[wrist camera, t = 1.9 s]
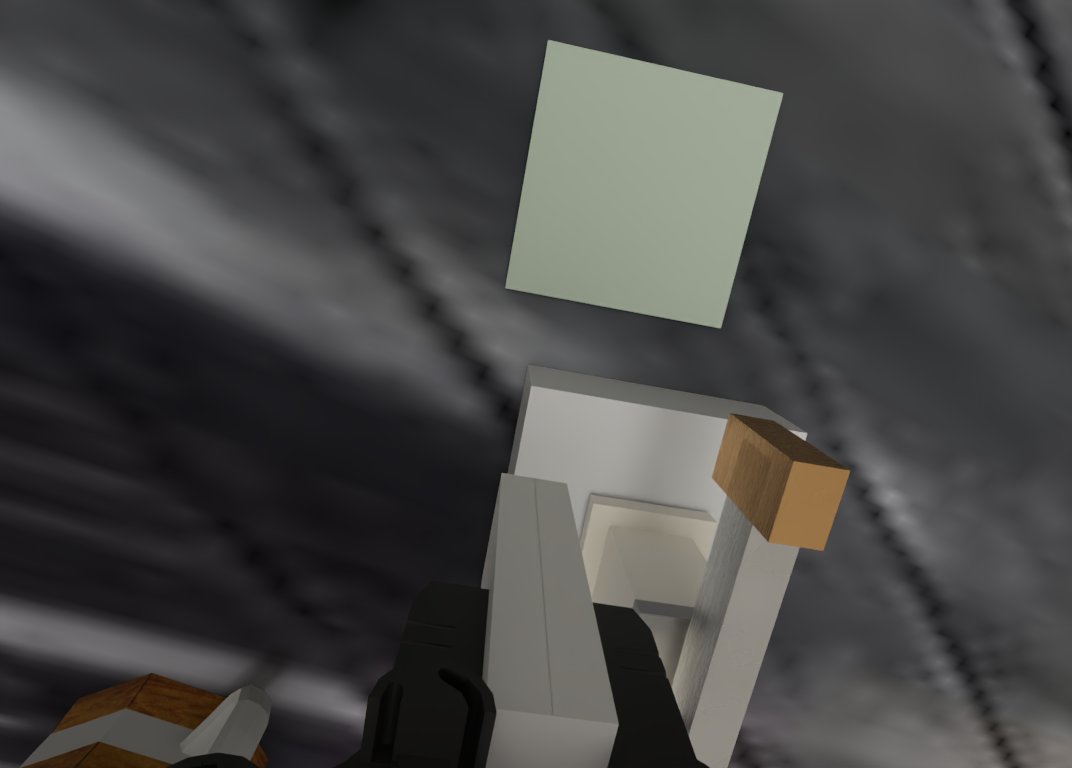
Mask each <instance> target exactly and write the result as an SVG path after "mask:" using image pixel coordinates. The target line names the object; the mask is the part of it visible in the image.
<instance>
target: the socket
mask: <svg viewBox="0 0 1072 768" xmlns="http://www.w3.org/2000/svg"><path fill="white" fill-rule="evenodd" d="M730 413H733V414H739V415H745V416H751V417H756V418H762V419H768V420H774V421H776V422H777V423H779V424H780V425H782V426H783V427H785V428H786V429H788V430H789V431H791V432H792V433H794V434H795V435H797V436H798V437H800V438H801V439H803V440H804V441H805V440H806V437H807V433H806V432H805V431H803V430H802V429H800V428H798V427H797V426H795V425H794V424H792V423H790V422H789V421H787V420H786V419H784V418H782V417H781V416H779V415H778V414H776V413H774V412H773V411H771V410H770V409H768V408H766V407H765V406H763V405H758V404H752V403H746V402H740V401H735V400H729V399H723V398H718V397H712V396H706V395H700V394H695V393H689V392H683V391H678V390H672V389H666V388H660V387H655V386H649V385H643V384H638V383H632V382H626V381H621V380H615V379H609V378H603V377H598V376H592V375H586V374H581V373H575V372H569V371H563V370H558V369H552V368H546V367H541V366H535V365H529V364H528V368H527V373H526V378H525V384H524V389H523V394H522V400H521V405H520V410H519V416H518V421H517V426H516V432H515V437H514V442H513V447H512V453H511V458H510V463H509V469H508V474H512V475H518V476H524V477H530V478H536V479H543V480H549V481H555V482H561V483H567V486H568V491H569V496H570V500H571V505H572V510H573V514H574V519H575V524H576V528H577V533H578V537H579V542H580V539H581V534H582V530H583V526H584V521H585V517H586V512H587V508H588V504H589V499H590V495H597V496H603V497H610V498H616V499H623V500H629V501H635V502H642V503H648V504H655V505H661V506H668V507H674V508H680V509H687V510H693V511H700V512H706V513H710V514H711V516H712V517H713V518H714V520H715V521H716V522H717V523H716V527H715V530H714V534H713V537H712V541H711V544H710V547H709V551H708V554H707V558H706V561H707V562H708V558H709V555H710V551H711V548H712V544H713V541H714V537H715V534H716V530H717V527H718V523H719V520H720V516H721V513H722V510H723V506H724V503H725V499H726V496H727V495H726V493H725V492H724V491H723V490H722V489H721V488H720V487H719V485H718V484H717V483H716V482H715V481H714V480H713V479H712V474H713V471H714V467H715V464H716V460H717V456H718V453H719V449H720V446H721V442H722V439H723V435H724V431H725V428H726V424H727V421H728V417H729V414H730Z"/></svg>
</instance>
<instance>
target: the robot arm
mask: <svg viewBox="0 0 1072 768" xmlns="http://www.w3.org/2000/svg"><path fill="white" fill-rule="evenodd" d="M166 768H260V767H259V766H257V765H256V764H254V763H253V762H251V761H250V760H248V759H247V758H245V757H244V756H238V755H232V754H225V753H219V752H217V753H211V754H205V755H199V756H193V757H188V758H186V759H184V760H181V761H179V762H177V763H175V764H172V765H170V766H168V767H166ZM333 768H710V767H709V766H707V765H706V764H704V763H702V762H701V761H699V760H697V758H696V755H695V753H694V750H693V747H692V744H691V741H690V738H689V736H688V733H687V730H686V727H685V724H684V721H683V719H682V716H681V713H680V710H679V707H678V705H677V702H676V699H675V696H674V693H673V690H672V688H671V685H670V682H669V679H668V678H666V671H665V668H664V665H663V662H662V659H661V658H660V657H659V651H658V648H657V645H656V642H655V640H654V637H653V634H652V631H651V629H650V628H649V627H648V626H647V624H646V623H645V622H644V621H643V620H642V619H641V617H640V616H639V615H638V614H637V613H636V612H635V610H634V609H633V608H628V607H621V606H614V605H607V604H600V603H593V602H592V598H591V593H590V589H589V584H588V579H587V575H586V570H585V565H584V561H583V556H582V551H581V547H580V542H579V537H578V533H577V528H576V524H575V519H574V514H573V510H572V505H571V500H570V496H569V491H568V486H567V483H561V482H555V481H549V480H543V479H536V478H530V477H524V476H518V475H512V474H506V473H502V474H501V479H500V484H499V490H498V495H497V501H496V506H495V511H494V517H493V522H492V528H491V533H490V538H489V544H488V549H487V555H486V560H485V565H484V571H483V576H482V583H481V588H475V587H469V586H462V585H455V584H448V583H441V582H434V581H431V582H430V583H429V584H428V585H427V586H426V587H425V588H424V589H423V590H422V591H421V592H420V593H419V594H418V595H417V596H416V597H415V598H414V600H413V604H412V607H411V611H410V614H409V617H408V621H407V625H406V627H405V631H404V634H403V638H402V642H401V644H400V648H399V651H398V655H397V658H396V661H395V665H394V668H393V669H392V670H391V671H389V672H388V673H386V674H385V675H384V676H382V677H381V678H380V679H379V680H378V682H377V683H376V685H375V687H374V688H373V690H372V692H371V693H370V695H369V697H368V703H367V710H366V717H365V724H364V731H363V739H362V746H361V749H360V750H359V751H358V752H356V753H355V754H354V755H353V756H351V757H350V758H349V759H348V760H346V761H345V762H343V763H341V764H339V765H337V766H335V767H333Z"/></svg>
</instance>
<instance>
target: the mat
mask: <svg viewBox="0 0 1072 768" xmlns="http://www.w3.org/2000/svg"><path fill="white" fill-rule="evenodd" d="M782 96H783V93H780V92H775V91H771V90H767V89H762V88H758V87H753V86H749V85H745V84H740V83H736V82H731V81H727V80H722V79H718V78H714V77H709V76H705V75H700V74H696V73H692V72H687V71H683V70H678V69H674V68H670V67H665V66H661V65H656V64H652V63H648V62H643V61H639V60H634V59H630V58H626V57H621V56H617V55H612V54H608V53H604V52H599V51H595V50H590V49H586V48H582V47H577V46H573V45H568V44H564V43H560V42H555V41H551V40H548V43H547V49H546V55H545V60H544V66H543V72H542V78H541V84H540V89H539V95H538V101H537V107H536V112H535V118H534V124H533V130H532V136H531V141H530V147H529V153H528V159H527V165H526V170H525V176H524V182H523V188H522V194H521V199H520V205H519V211H518V217H517V222H516V228H515V234H514V240H513V246H512V251H511V257H510V263H509V269H508V275H507V280H506V286H505V288H507V289H512V290H518V291H523V292H528V293H534V294H539V295H544V296H550V297H555V298H561V299H566V300H571V301H577V302H582V303H587V304H593V305H598V306H603V307H609V308H614V309H620V310H625V311H630V312H636V313H641V314H646V315H652V316H657V317H662V318H668V319H673V320H679V321H684V322H689V323H695V324H700V325H705V326H711V327H716V328H721V326H722V322H723V318H724V315H725V311H726V307H727V303H728V300H729V296H730V292H731V288H732V285H733V281H734V277H735V273H736V270H737V266H738V262H739V258H740V254H741V251H742V247H743V243H744V239H745V236H746V232H747V228H748V224H749V221H750V217H751V213H752V209H753V206H754V202H755V198H756V194H757V191H758V187H759V183H760V179H761V175H762V172H763V168H764V164H765V160H766V157H767V153H768V149H769V145H770V142H771V138H772V134H773V130H774V127H775V123H776V119H777V115H778V112H779V108H780V104H781V100H782Z"/></svg>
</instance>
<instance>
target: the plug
mask: <svg viewBox="0 0 1072 768" xmlns="http://www.w3.org/2000/svg"><path fill="white" fill-rule="evenodd" d="M716 523H717V522H716V521H715V520H714V518H713V517H712V516H711V514H710V513H706V512H700V511H693V510H687V509H680V508H674V507H668V506H661V505H655V504H648V503H642V502H635V501H629V500H623V499H616V498H610V497H603V496H597V495H590V499H589V504H588V508H587V512H586V517H585V521H584V526H583V530H582V534H581V539H580V547H581V551H582V556H583V561H584V565H585V570H586V575H587V579H588V584H589V589H590V593H591V598H592V602H593V603H600V604H607V605H614V606H621V607H628V608H633V609H634V610H635V612H636V613H637V614H638V615H639V616H640V617H641V619H642V620H643V621H644V622H645V623H646V624H647V626H648V627H649V628H650V629H651V631H652V634H653V637H654V640H655V642H656V645H657V648H658V651H659V657H660V658H661V659H662V662H663V665H664V668H665V671H666V678H668V679H669V682H670V685H671V686H672V683H673V679H674V676H675V673H676V669H677V666H678V662H679V659H680V655H681V652H682V648H683V645H684V641H685V638H686V634H687V631H688V627H689V624H690V621H691V617H692V614H693V610H694V607H695V603H696V600H697V596H698V593H699V589H700V586H701V582H702V579H703V575H704V572H705V568H706V565H707V561H706V558H707V554H708V551H709V547H710V544H711V541H712V537H713V534H714V530H715V527H716Z"/></svg>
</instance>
